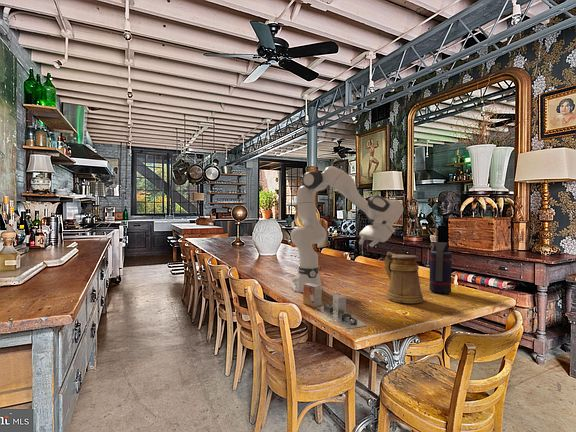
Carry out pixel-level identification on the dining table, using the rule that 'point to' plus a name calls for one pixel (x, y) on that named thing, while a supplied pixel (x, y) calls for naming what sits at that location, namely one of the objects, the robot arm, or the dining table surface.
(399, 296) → the tankard
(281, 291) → the dining table surface
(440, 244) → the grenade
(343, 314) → the grey long flat board
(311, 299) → the small box
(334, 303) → the mini drawer chest
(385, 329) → the dining table surface
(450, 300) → the dining table surface
